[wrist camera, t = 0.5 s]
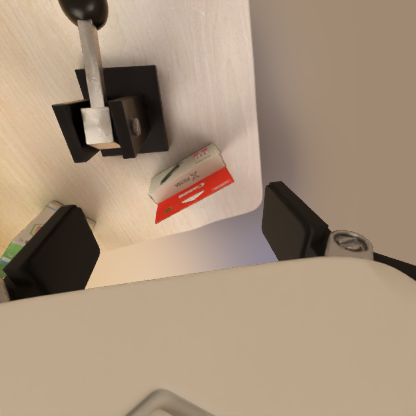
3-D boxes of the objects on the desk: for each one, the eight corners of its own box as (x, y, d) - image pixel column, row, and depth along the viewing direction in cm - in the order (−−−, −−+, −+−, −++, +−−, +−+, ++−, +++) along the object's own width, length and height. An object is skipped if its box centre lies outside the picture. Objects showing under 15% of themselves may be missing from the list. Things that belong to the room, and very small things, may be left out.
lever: (69, -2, 18) (40, -48, 15) (111, -3, 18) (93, -49, 15) (94, 151, 20) (72, 143, 16) (132, 148, 20) (120, 139, 16)
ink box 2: (150, 178, 32) (141, 211, 24) (213, 141, 30) (227, 163, 22) (159, 190, 33) (154, 225, 25) (220, 155, 32) (236, 181, 23)
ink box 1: (97, 222, 35) (58, 289, 23) (85, 236, 36) (43, 307, 25) (54, 199, 32) (-15, 263, 20) (42, 216, 33) (-28, 285, 22)
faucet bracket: (78, 70, 24) (-2, 59, 13) (156, 65, 25) (140, 52, 14) (105, 154, 29) (63, 195, 19) (168, 148, 30) (164, 185, 19)
